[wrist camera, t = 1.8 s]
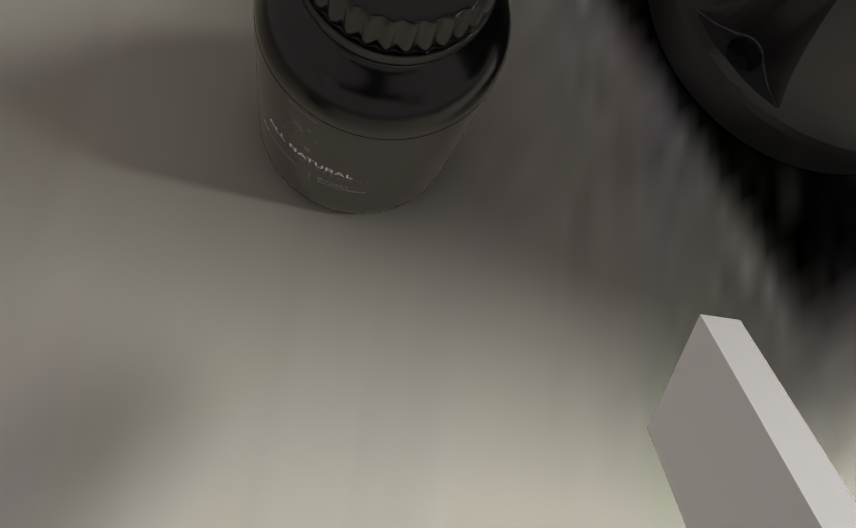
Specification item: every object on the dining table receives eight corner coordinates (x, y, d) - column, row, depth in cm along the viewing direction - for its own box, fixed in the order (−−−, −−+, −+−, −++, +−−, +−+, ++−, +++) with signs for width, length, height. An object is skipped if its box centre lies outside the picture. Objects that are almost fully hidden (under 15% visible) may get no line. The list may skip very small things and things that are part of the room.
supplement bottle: (257, 216, 27) (233, 54, 16) (264, 35, 29) (246, -236, 17) (453, 223, 28) (564, 76, 17) (449, 48, 30) (550, -197, 18)
